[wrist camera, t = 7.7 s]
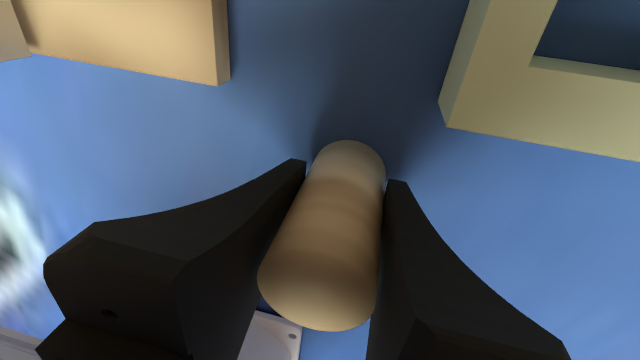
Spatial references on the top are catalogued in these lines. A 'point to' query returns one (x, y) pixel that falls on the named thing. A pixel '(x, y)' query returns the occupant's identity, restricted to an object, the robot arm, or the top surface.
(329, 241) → the peg
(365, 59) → the top surface
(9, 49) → the lid
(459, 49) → the socket board
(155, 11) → the board
